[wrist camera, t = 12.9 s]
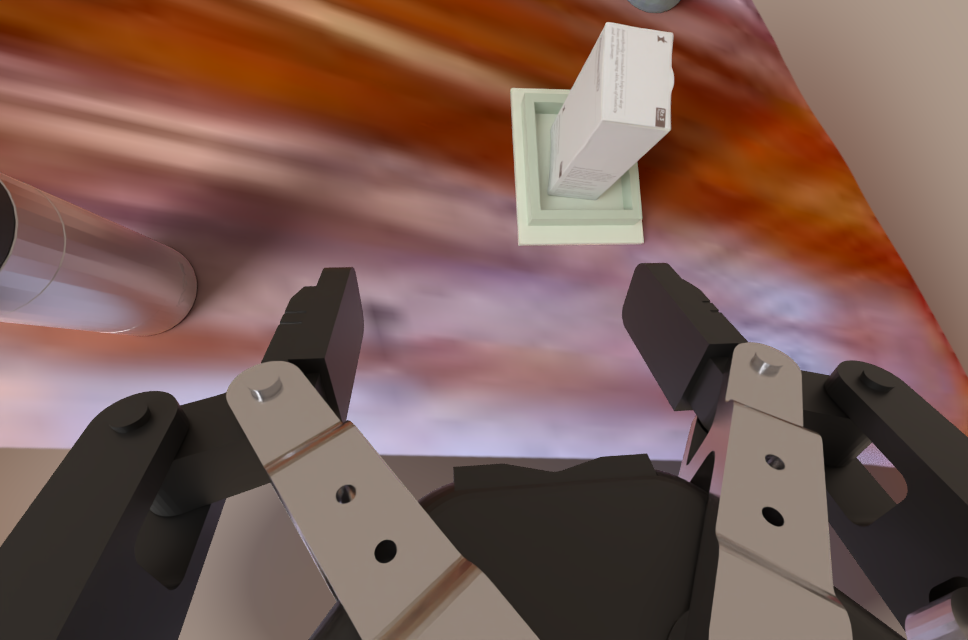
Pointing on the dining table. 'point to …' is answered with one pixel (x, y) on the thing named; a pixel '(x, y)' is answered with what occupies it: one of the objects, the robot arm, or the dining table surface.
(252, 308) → the dining table surface
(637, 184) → the tray
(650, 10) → the grey plant pot
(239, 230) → the dining table surface
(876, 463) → the dining table surface
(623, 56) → the skincare box
